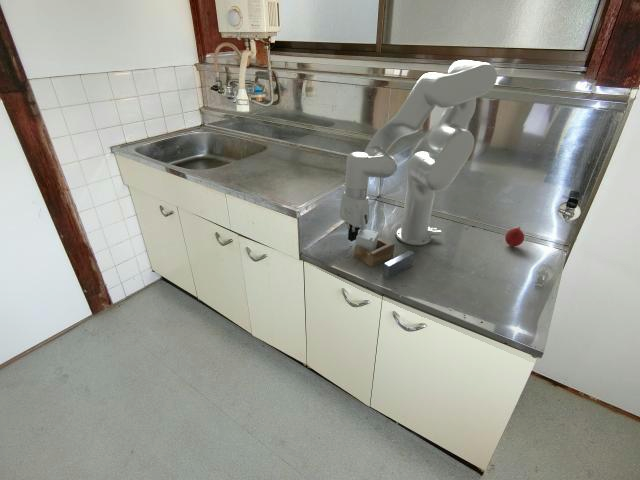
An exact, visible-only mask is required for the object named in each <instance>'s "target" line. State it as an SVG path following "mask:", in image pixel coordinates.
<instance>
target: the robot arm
mask: <svg viewBox="0 0 640 480" xmlns="http://www.w3.org/2000/svg"><path fill="white" fill-rule="evenodd" d="M497 77H498V73H497V70H496V68H495V67H494V65H493V64H491V63H488V62H484V61H483V62H482V61H475V60H470V59H469V60H468V59H461V60H457V61H454V62H453V63H452V64H451V65H450V66H449V69H448V71H447V74H444V73H439V72H427V73H424V74H423V75H422V76H421V77H420V78H419V79H418V80H417V81H416V83H415V85H414V86H413V88H412V90H410V92H409V94H408V96H407V98H406V99H405V100H404V102H403V104H402V105H401V106H400V108H399V110H398V111H397V113H396V114H395V116H394V117H392V118H391V119H390V120H389V121H387V122H386V123H385V124H384V125H383V126H382V127H380V128H379V129H378V130H377V132H376V133H375V134H374V135H373V137H371V140H369V142H368V144H367V145H366V148H365V149H364V152H363V151H353V152H350V153H349V154H348V155H347V157H346V165H345V166H346V167H345V168H346V169H345V170H346V171H345V180H344V181H345V183H344V191H343V193H342V196H341V200H340V206H339V218H340V220H343V221H344V222H345V223H346V226H347V227H346V228H347V230H348V234H347V239H348V241H350V242H354V241H356V236H357V235H358V233H359V231H361V230H365V229H367V225H368V223H369V219H370V216H369V215H370V201H369V183H370V178H376V179H377V178H379V179H386V178H390V177H392V176H393V175H395V173H396V172H397V169H398V163H397V160H396V159H395V157H393V156H392V155H391V154H390V153H388V151H389V150H390V149H391V147H392V146H393V145H394V144H395V143H396V142H397V141H398V140H399V139H402V137H405V136H410V135H412V134H415V133H417V132H419V131H420V130H421V128H422V126H423V125H424V124H425V122H426V121H427V119H428V118H429V116H430V115H431V113H432V111H433V110H434V109H435V107H437V108H441V109H444V108H445V109H444V110H443V112H442V114H441V115H440V117H439V118H438V119H437V121H436V123H435V125H434V126H433V128H432V129H431V132H430V133H429V135H428V138H427V139H428V140H427V142H428V145H429V147H430V148H431V149H432V150H434V151H435V152H437V153H438V155H437V156H436V155H434V154H433V153H431V152H429V151H423V150H422V151H418V152H415V153H414V154H412V155H411V157H409V159H408V162H407V165H406V180H407V181H406V193H405V198H404V199H405V200H404V206H403V213H402V221H401V227H400V228H398V229H397V231H396V234H395V236H396V239H397V240H399V241H400V242H402V243H404V244H406V245H410V246H424V245H427V244H429V243H430V242H431V241H432V237H433V236H435V237H436V236H437V237H441V236H442V234H443V233H442V230H438V228H437V227H431V226H430V223H431V215H432V211H433V207H434V206H433V205H434V200H435V192H441V191H443V190H445V189H447V188H448V187H449V186H450V185H451V184H452V183H453V181H454V180H455V178H456V177H457V175H458V174H459V173H460V171H461V169H462V168H463V167H464V165H465V164H466V163H467V161H468V160H469V158H470V156H471V154H472V153H473V150H474V146H475V137H474V135H473V134H472V132H471V131H470V130H468V129H466V128H467V126H468V125H469V123H470V121H471V119H472V118H473V115H474V114H475V112H476V108H477V107H476V106H477V99H478V98H479V97H482V96H484V95H487V94H488V93H489V92H490V91H491V90H492V89H493V88H494V86H495V85H496V82H497V79H498V78H497Z"/></svg>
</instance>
